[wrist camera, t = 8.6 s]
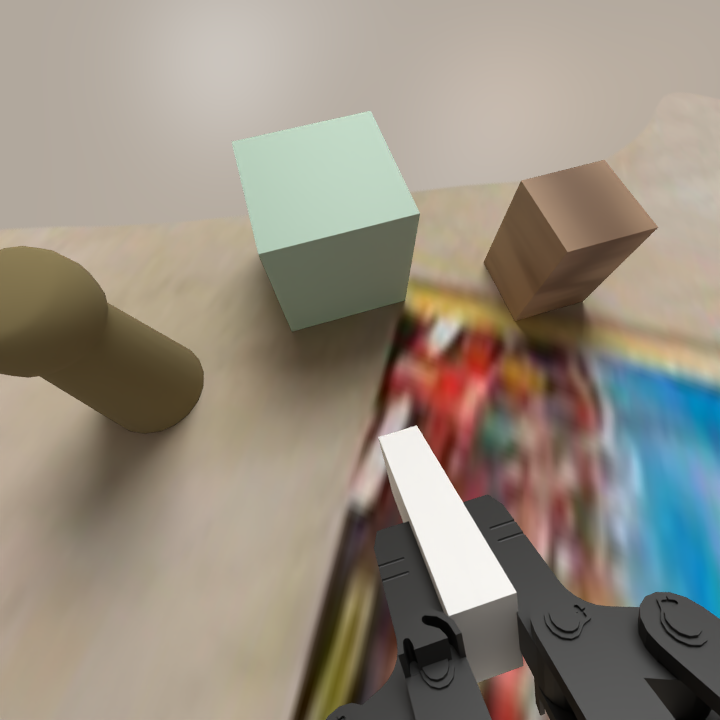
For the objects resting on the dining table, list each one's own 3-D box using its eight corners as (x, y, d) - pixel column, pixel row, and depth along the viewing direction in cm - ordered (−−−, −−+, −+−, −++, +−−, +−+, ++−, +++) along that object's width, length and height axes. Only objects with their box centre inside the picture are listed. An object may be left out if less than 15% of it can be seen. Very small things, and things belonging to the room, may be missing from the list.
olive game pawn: (160, 326, 25) (14, 197, 14) (223, 376, 23) (110, 270, 13) (87, 395, 23) (-138, 303, 13) (151, 454, 21) (-47, 402, 11)
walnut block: (547, 245, 27) (604, 159, 20) (582, 301, 25) (658, 227, 18) (483, 262, 26) (521, 180, 20) (514, 321, 24) (567, 251, 18)
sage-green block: (370, 216, 28) (370, 110, 21) (404, 301, 25) (419, 213, 18) (268, 241, 27) (231, 141, 20) (291, 332, 24) (258, 254, 17)
